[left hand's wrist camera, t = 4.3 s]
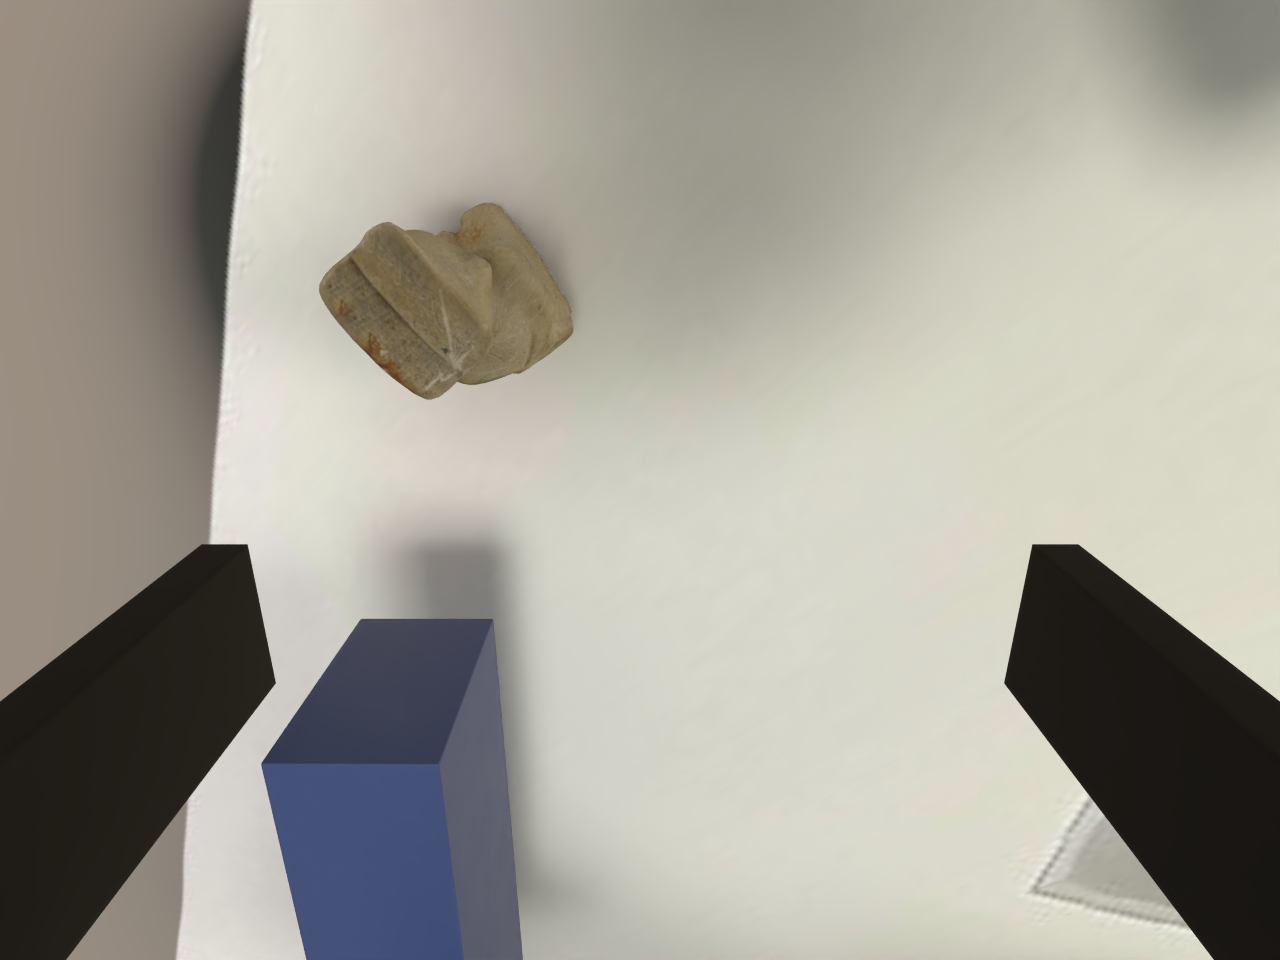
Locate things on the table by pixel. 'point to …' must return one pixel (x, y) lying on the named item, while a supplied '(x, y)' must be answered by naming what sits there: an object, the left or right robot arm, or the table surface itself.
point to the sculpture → (448, 302)
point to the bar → (400, 799)
